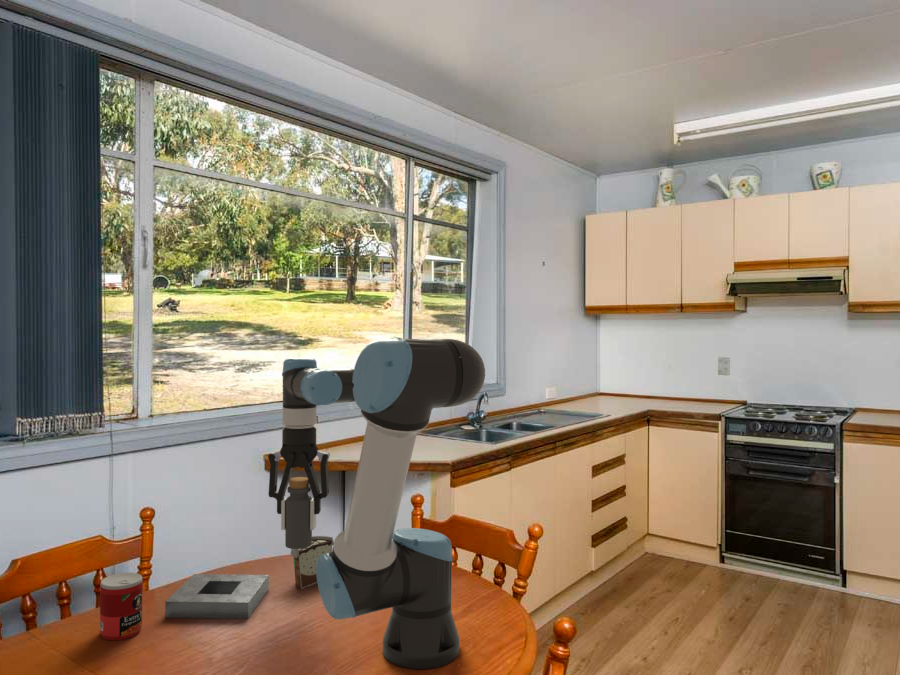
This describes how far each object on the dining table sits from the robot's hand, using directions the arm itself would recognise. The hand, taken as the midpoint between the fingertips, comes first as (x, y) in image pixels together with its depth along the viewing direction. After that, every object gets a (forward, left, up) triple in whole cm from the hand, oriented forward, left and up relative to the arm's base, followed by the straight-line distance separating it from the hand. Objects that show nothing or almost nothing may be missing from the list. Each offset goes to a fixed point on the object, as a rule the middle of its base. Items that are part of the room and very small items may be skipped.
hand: (298, 527), depth 148 cm
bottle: (0, 0, -4) cm, 4 cm away
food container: (+15, +1, -18) cm, 24 cm away
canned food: (-14, +33, -18) cm, 40 cm away
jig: (+1, +18, -18) cm, 25 cm away
